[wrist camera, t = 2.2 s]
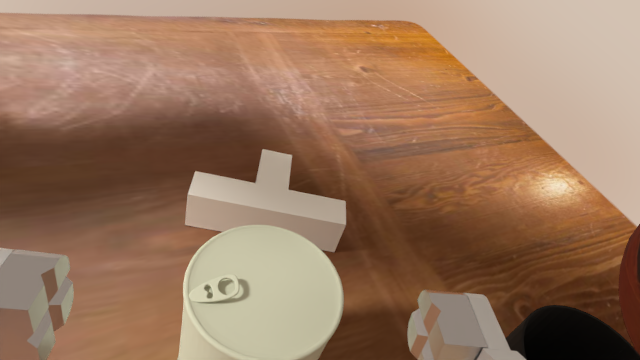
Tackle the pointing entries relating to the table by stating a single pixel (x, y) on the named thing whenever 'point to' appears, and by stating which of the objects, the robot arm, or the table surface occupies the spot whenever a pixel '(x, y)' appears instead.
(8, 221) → the table surface
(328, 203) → the T stop
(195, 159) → the table surface
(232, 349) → the can
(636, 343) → the goblet
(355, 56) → the table surface
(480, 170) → the table surface
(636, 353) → the glass holder
